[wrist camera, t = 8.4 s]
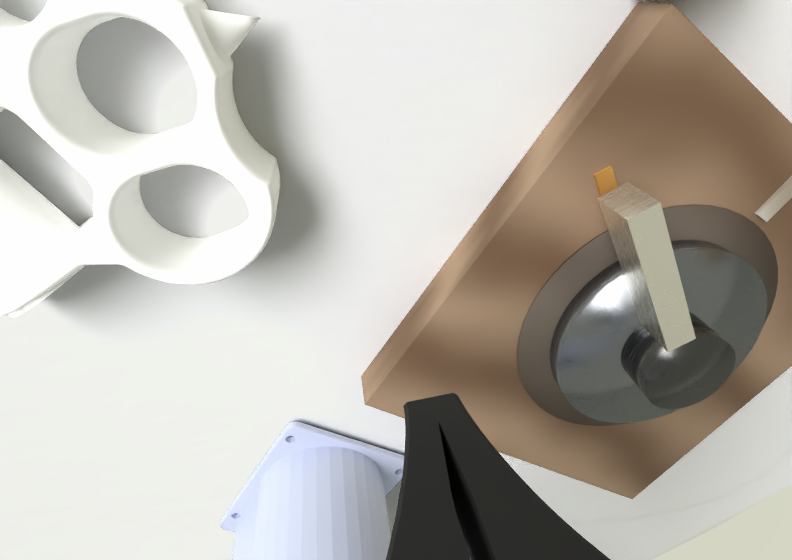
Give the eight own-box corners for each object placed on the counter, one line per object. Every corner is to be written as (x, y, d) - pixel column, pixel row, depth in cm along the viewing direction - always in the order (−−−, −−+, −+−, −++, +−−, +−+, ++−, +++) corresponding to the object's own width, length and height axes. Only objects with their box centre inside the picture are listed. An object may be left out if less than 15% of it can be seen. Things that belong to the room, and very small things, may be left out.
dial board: (615, 472, 33) (633, 501, 31) (361, 376, 25) (365, 407, 23) (882, 238, 26) (927, 257, 24) (638, 2, 18) (676, 4, 16)
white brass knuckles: (-449, -75, 13) (-94, -501, 11) (100, 337, 22) (363, 157, 20) (-656, -92, 10) (-239, -675, 8) (68, 388, 19) (371, 185, 17)
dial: (760, 351, 25) (810, 392, 23) (583, 435, 27) (612, 482, 24) (722, 112, 18) (789, 132, 16) (484, 244, 20) (509, 283, 17)
